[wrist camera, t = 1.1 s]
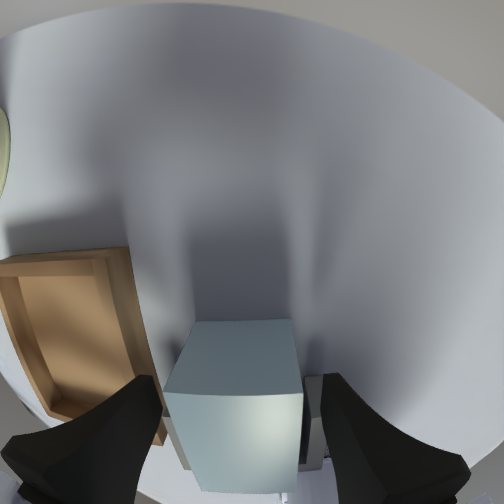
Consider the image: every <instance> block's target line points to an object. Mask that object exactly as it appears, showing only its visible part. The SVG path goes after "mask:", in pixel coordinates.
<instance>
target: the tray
mask: <svg viewBox="0 0 504 504" xmlns="http://www.w3.org/2000/svg"><path fill="white" fill-rule="evenodd" d="M0 309H1V312H2V316H3V319H4V322H5V325H6V327H7V330H8V333H9V336H10V338H11V341H12V343H13V346H14V348H15V351H16V353H17V356H18V358H19V360H20V363H21V365H22V367H23V369H24V371H25V374H26V376H27V378H28V380H29V382H30V384H31V386H32V388H33V390H34V392H35V393H36V395H37V397H38V399H39V401H40V403H41V404H42V406H43V408H44V410H45V411H46V413H47V415H48V416H50V417H53V418H55V419H58V420H61V421H64V422H68V421H71V420H73V419H75V418H77V417H79V416H81V415H83V414H84V413H86V412H88V411H90V410H91V409H93V408H94V407H96V406H97V405H99V404H100V403H102V402H103V401H105V400H106V399H108V398H109V397H110V396H112V395H113V394H114V393H116V392H117V391H118V390H120V389H121V388H122V387H124V386H125V385H126V384H128V383H129V382H130V381H131V380H133V379H134V378H135V377H137V376H138V375H140V374H143V375H152V376H153V379H154V382H155V385H156V388H157V391H158V394H159V397H160V400H161V403H162V406H163V411H162V414H163V412H164V410H165V407H166V403H165V400H164V397H163V394H162V390H161V387H160V384H159V381H158V378H157V374H156V371H155V367H154V364H153V360H152V357H151V353H150V349H149V345H148V341H147V338H146V333H145V329H144V325H143V321H142V316H141V312H140V307H139V303H138V298H137V293H136V288H135V282H134V277H133V271H132V265H131V259H130V252H129V246H127V247H113V248H99V249H86V250H74V251H61V252H49V253H38V254H26V255H15V256H10V257H8V258H5V259H3V260H0ZM167 434H168V431H167V429H166V426H165V424H164V421H163V419H162V416H161V420H160V424H159V427H158V430H157V432H156V435H155V437H154V440H153V442H152V445H158V446H163V445H164V442H165V439H166V436H167Z"/></svg>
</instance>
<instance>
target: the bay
mask: <svg viewBox="0 0 504 504" xmlns="http://www.w3.org/2000/svg"><path fill="white" fill-rule="evenodd" d="M322 384H323V381H322V377H321V376H310V377H304V396H303V413H302V425H301V438H300V450H299V461H298V472H306V471H315V470H321V469H322V464H323V460H324V455H325V450H326V445H327V442H326V438H325V434H324V431H323V426H322V419H321V412H320V403H321V394H322ZM162 419H163V421H164V424H165V426H166V429H167V431H168V434H169V436H170V439H171V441H172V443H173V446H174V448H175V450H176V453H177V455H178V457H179V459H180V462H181V464H182V466H183V468H184V470H192V469H191V467H190V465H189V462H188V460H187V458H186V455H185V453H184V451H183V448H182V446H181V443H180V441H179V438H178V435H177V433H176V430H175V427H174V425H173V422H172V419H171V416H170V414H169V411H168V408H167V405H166V407H165V410H164V412H163V414H162Z"/></svg>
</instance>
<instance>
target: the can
mask: <svg viewBox="0 0 504 504" xmlns="http://www.w3.org/2000/svg"><path fill="white" fill-rule="evenodd" d="M9 154H10V132H9V125H8V120H7V117H6V115H5V113H4V111H3V110H2V109H1V108H0V197H1V194H2V191H3V188H4V184H5V180H6V176H7V170H8V164H9Z"/></svg>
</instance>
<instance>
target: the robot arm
mask: <svg viewBox="0 0 504 504" xmlns="http://www.w3.org/2000/svg"><path fill="white" fill-rule="evenodd" d="M162 411H163V406H162V403H161V400H160V397H159V394H158V391H157V388H156V385H155V382H154V379H153V376H152V375H143V374H140V375H138V376H137V377H135V378H134V379H133V380H131V381H130V382H129V383H128V384H126V385H125V386H124V387H122V388H121V389H120V390H118V391H117V392H116V393H114V394H113V395H112V396H110V397H109V398H108V399H106V400H105V401H103V402H102V403H100V404H99V405H97V406H96V407H94V408H93V409H91V410H90V411H88V412H86V413H84V414H83V415H81V416H79V417H77V418H75V419H73V420H71V421H68V422H66V423H63V424H61V425H58V426H56V427H53V428H50V429H46V430H43V431H39V432H35V433H30V434H23V435H16V436H12V438H11V439H10V440H9V442H8V443H7V444H6V446H5V447H4V448H3V449H2V451H1V452H0V453H1V456H2V458H3V459H4V461H5V462H6V463H7V464H8V466H9V467H10V468H11V469H12V470H13V471H14V472H15V473H16V474H17V475H18V476H19V477H20V478H21V479H22V481H24V482H23V483H22V485H20V484H19V483H18V482H17V481H15V480H14V479H12V478H11V477H10V476H8V475H7V474H5V473H4V472H2V471H0V504H134V500H135V495H136V490H137V485H138V481H139V477H140V473H141V470H142V467H143V464H144V461H145V459H146V456H147V454H148V452H149V449H150V447H151V444H152V442H153V440H154V437H155V435H156V432H157V430H158V427H159V424H160V420H161V416H162ZM320 412H321V419H322V426H323V431H324V434H325V438H326V442H327V445H328V449H329V453H330V456H331V457H330V458H324V460H323V464H322V469H321V470H315V471H306V472H297V481H296V490H295V492H291V493H282V499H281V504H456V503H457V499H456V497H455V495H456V493H457V492H458V491H459V490H460V489H461V488H462V487H463V486H464V485H465V484H466V483H467V481H468V480H469V478H470V476H471V472H470V470H469V468H468V466H467V464H466V462H465V461H464V459H463V458H462V456H461V455H458V454H455V453H451V452H448V451H444V450H441V449H438V448H435V447H433V446H430V445H428V444H425V443H423V442H421V441H419V440H417V439H415V438H413V437H411V436H409V435H407V434H406V433H404V432H402V431H401V430H399V429H397V428H396V427H394V426H393V425H392V424H390V423H389V422H387V421H386V420H385V419H384V418H382V417H381V416H380V415H379V414H378V413H376V412H375V411H374V410H373V409H372V408H371V407H370V406H369V405H368V404H367V403H366V402H365V401H364V400H363V399H362V398H361V397H360V396H359V395H358V394H357V393H356V392H355V391H354V390H353V389H352V388H351V387H350V386H349V384H348V383H347V382H346V381H345V380H344V378H343V377H342V376H341V375H340V374H339V373H330V374H323V384H322V394H321V403H320ZM467 504H493V502H492V500H491V498H490V496H489V495H488V493H484V494H482V495H481V496H479V497H477V498H476V499H474V500H472V501H470V502H468V503H467Z"/></svg>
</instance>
